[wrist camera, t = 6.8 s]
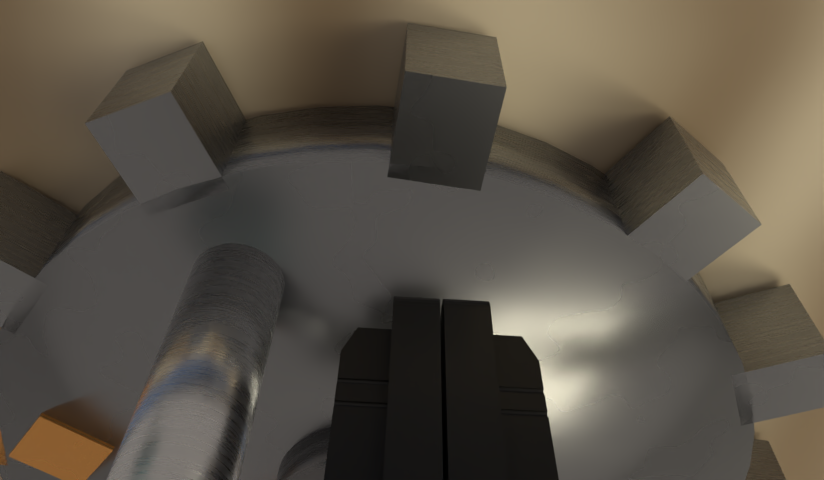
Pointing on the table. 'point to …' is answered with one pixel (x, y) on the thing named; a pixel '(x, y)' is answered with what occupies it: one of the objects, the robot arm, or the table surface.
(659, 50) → the base plate
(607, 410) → the sprocket
